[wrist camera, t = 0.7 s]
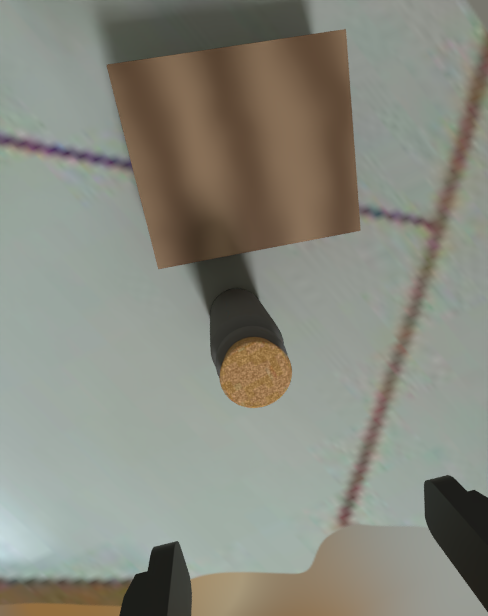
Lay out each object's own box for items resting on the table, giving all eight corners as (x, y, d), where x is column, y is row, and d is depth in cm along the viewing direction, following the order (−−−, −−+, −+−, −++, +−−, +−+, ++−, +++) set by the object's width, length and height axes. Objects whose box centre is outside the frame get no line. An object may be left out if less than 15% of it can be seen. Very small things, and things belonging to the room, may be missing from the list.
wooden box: (318, 69, 29) (345, 29, 23) (333, 230, 33) (360, 230, 27) (127, 99, 28) (106, 64, 22) (167, 261, 32) (158, 269, 26)
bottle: (205, 293, 33) (202, 342, 19) (258, 283, 33) (296, 325, 19) (215, 342, 35) (219, 424, 20) (265, 333, 35) (305, 406, 20)
